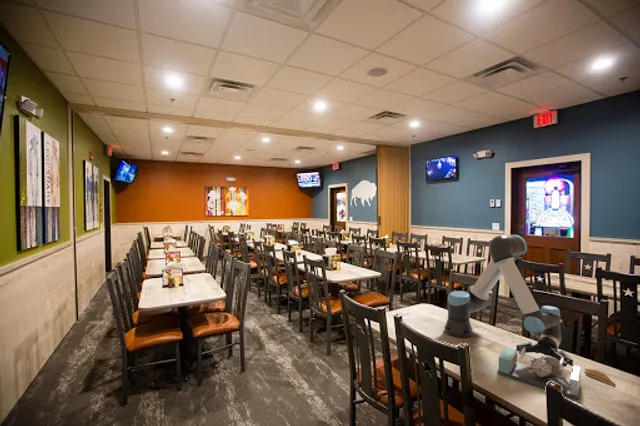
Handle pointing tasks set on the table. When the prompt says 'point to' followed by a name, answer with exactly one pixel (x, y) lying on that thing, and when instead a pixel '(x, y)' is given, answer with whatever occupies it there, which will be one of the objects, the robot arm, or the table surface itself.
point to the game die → (541, 367)
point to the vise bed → (546, 379)
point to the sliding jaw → (507, 360)
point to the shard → (599, 376)
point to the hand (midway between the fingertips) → (540, 361)
